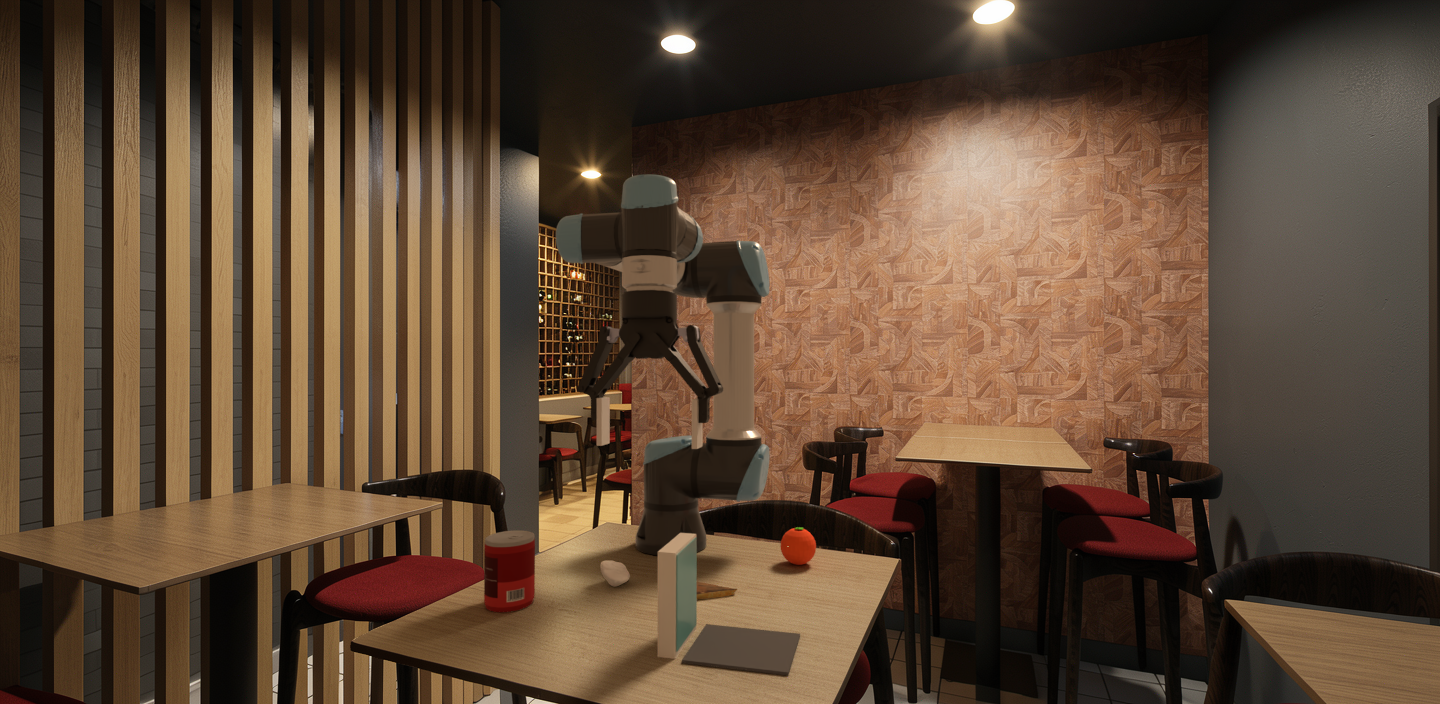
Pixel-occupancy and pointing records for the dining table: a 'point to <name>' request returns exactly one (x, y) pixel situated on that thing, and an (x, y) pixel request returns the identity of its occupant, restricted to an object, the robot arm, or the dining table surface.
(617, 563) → the dumpling
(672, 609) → the glazed tile
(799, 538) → the clementine
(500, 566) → the canned food
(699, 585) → the shard
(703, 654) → the rubber mat
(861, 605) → the dining table surface
